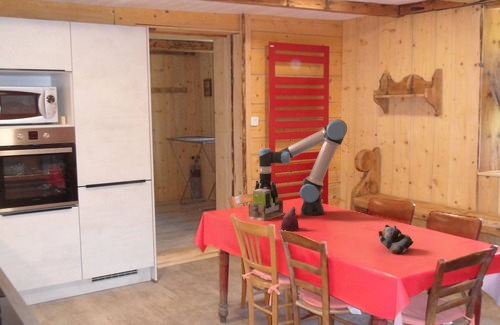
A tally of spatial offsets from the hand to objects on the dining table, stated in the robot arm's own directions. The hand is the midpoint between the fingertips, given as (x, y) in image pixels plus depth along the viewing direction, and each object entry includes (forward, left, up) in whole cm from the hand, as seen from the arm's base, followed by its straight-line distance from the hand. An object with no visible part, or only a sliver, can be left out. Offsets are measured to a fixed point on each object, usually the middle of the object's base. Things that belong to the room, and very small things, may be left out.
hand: (266, 207), depth 349 cm
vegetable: (-31, +20, -6) cm, 37 cm away
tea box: (0, 0, -3) cm, 3 cm away
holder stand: (0, 0, -6) cm, 6 cm away
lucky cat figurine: (-99, +30, -6) cm, 104 cm away
